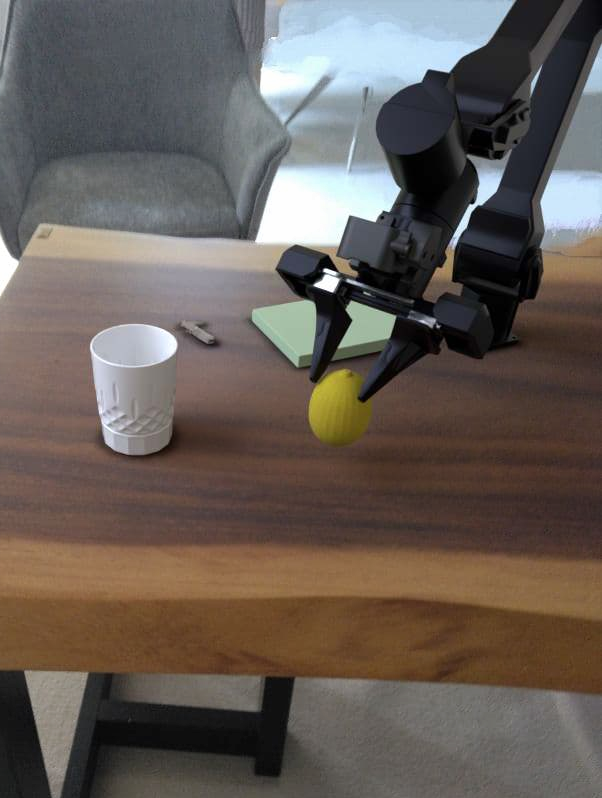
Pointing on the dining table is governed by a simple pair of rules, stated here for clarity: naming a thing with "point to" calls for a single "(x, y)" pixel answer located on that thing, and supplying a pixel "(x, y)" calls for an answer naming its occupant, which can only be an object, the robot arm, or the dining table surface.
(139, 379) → the white cup
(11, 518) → the dining table surface
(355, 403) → the lemon
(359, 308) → the cutting board
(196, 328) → the pocket knife
